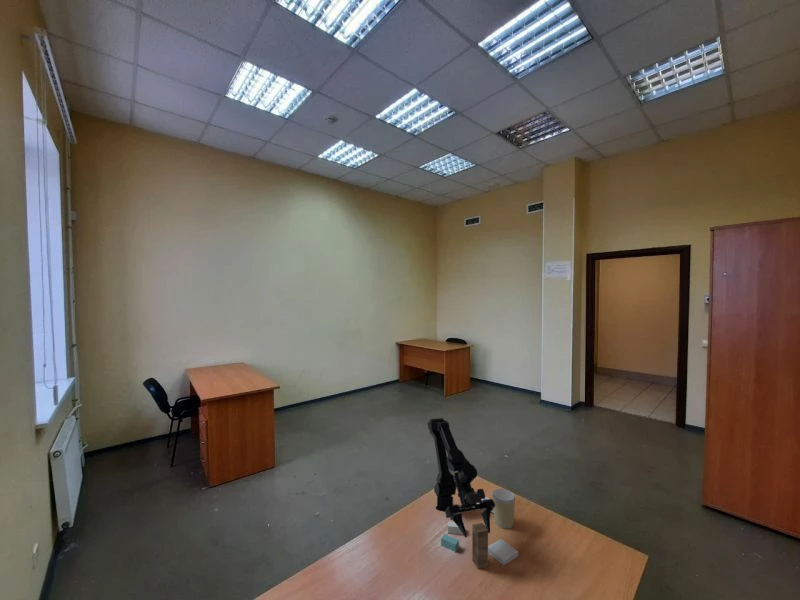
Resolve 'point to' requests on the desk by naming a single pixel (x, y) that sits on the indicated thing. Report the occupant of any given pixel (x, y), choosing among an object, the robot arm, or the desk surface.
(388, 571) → the desk surface
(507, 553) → the grey slab
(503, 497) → the coffee cup
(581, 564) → the desk surface
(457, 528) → the light grey brick
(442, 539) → the teal brick
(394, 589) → the desk surface
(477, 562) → the walnut block
